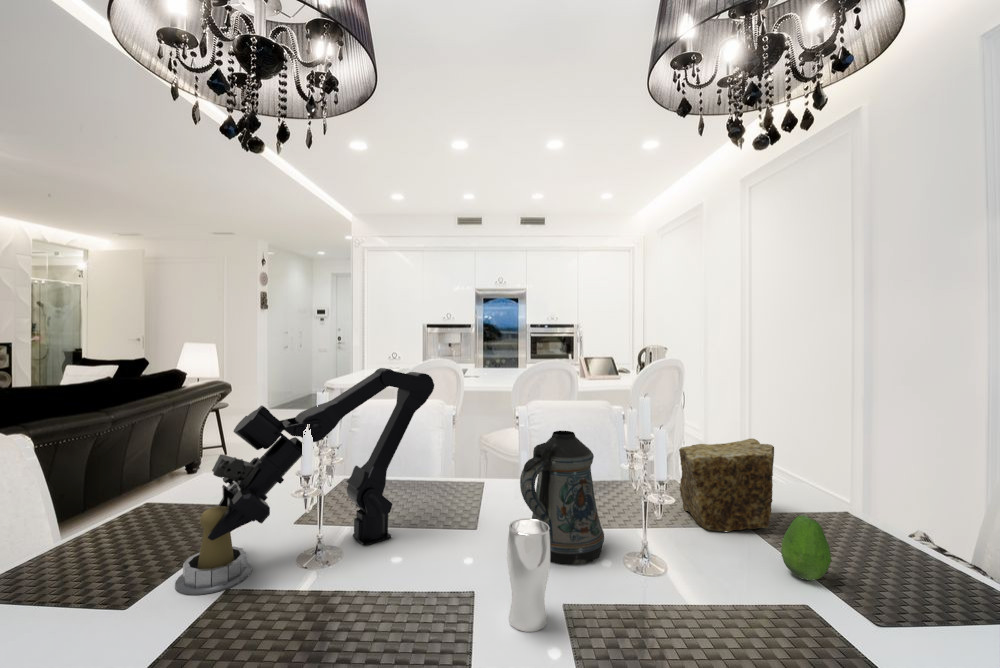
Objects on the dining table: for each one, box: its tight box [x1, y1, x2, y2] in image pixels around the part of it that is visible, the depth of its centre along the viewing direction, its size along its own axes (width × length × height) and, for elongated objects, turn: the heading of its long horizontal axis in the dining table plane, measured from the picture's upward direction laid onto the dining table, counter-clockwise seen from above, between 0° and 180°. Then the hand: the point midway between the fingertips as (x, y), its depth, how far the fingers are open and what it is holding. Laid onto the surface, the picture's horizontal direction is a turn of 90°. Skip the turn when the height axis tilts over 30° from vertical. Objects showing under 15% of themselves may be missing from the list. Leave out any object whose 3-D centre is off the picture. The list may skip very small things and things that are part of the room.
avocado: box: [780, 514, 832, 581], centre depth 89 cm, size 8×8×12 cm
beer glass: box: [506, 518, 551, 633], centre depth 74 cm, size 7×7×15 cm
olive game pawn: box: [197, 506, 234, 569], centre depth 85 cm, size 6×6×11 cm
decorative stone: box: [678, 438, 775, 532], centre depth 117 cm, size 21×20×20 cm
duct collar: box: [174, 545, 253, 596], centre depth 85 cm, size 12×12×4 cm
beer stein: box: [519, 430, 605, 566], centre depth 99 cm, size 16×19×25 cm
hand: (208, 533), depth 85 cm, fingers closed on olive game pawn, 5 cm apart
